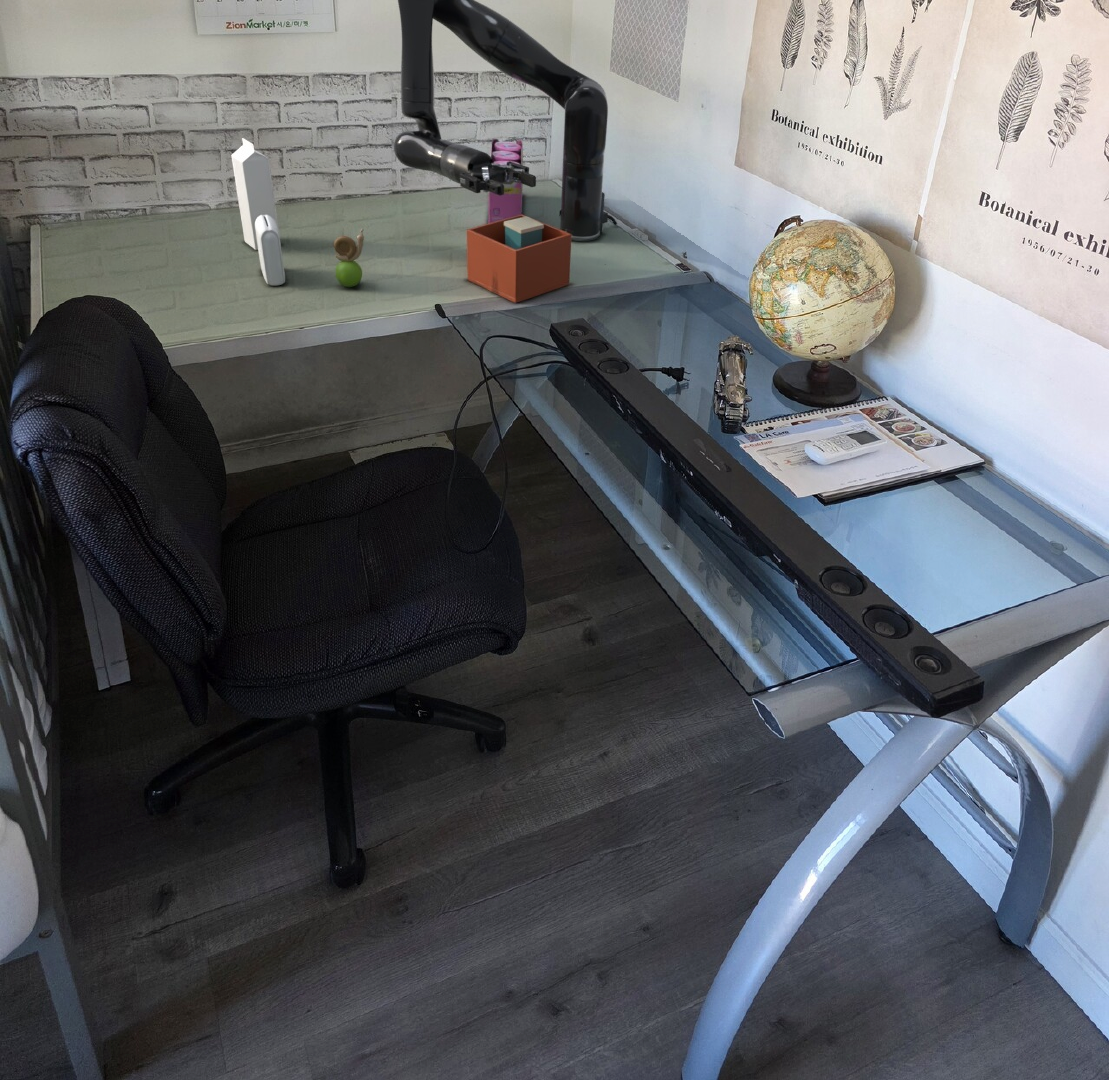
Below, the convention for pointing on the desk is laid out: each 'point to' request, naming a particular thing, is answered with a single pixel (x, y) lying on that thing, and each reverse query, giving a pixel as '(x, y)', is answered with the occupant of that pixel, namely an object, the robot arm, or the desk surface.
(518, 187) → the gum box
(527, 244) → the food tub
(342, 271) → the snail figurine
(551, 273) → the open square box
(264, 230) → the photo printer
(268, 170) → the milk
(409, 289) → the desk surface
